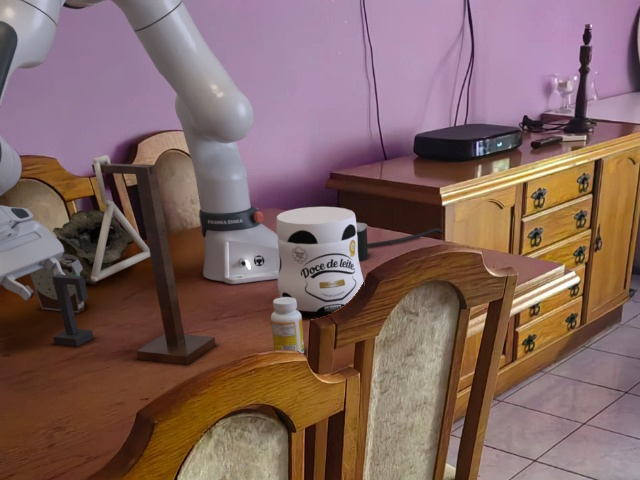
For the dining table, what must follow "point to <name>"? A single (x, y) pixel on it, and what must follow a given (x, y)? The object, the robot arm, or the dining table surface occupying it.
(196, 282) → the dining table surface
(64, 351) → the dining table surface
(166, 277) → the hanger stand
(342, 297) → the milk container
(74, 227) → the hollow geode rock
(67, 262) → the food container
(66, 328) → the black hanger
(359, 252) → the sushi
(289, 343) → the supplement bottle
